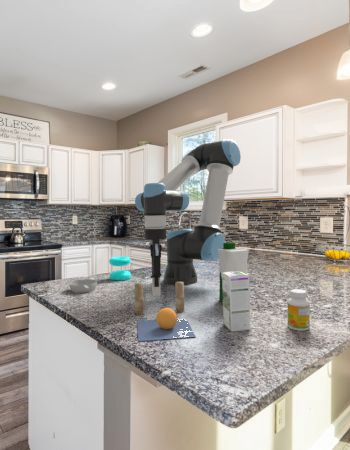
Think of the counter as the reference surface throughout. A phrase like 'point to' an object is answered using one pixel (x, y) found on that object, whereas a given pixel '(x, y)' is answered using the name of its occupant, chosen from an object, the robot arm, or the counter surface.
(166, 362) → the counter surface
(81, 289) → the saucepan
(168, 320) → the ball
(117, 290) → the counter surface
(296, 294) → the supplement bottle
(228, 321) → the syrup box
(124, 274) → the donuts
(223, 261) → the milk carton
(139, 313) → the left post
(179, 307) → the right post
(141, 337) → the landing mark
